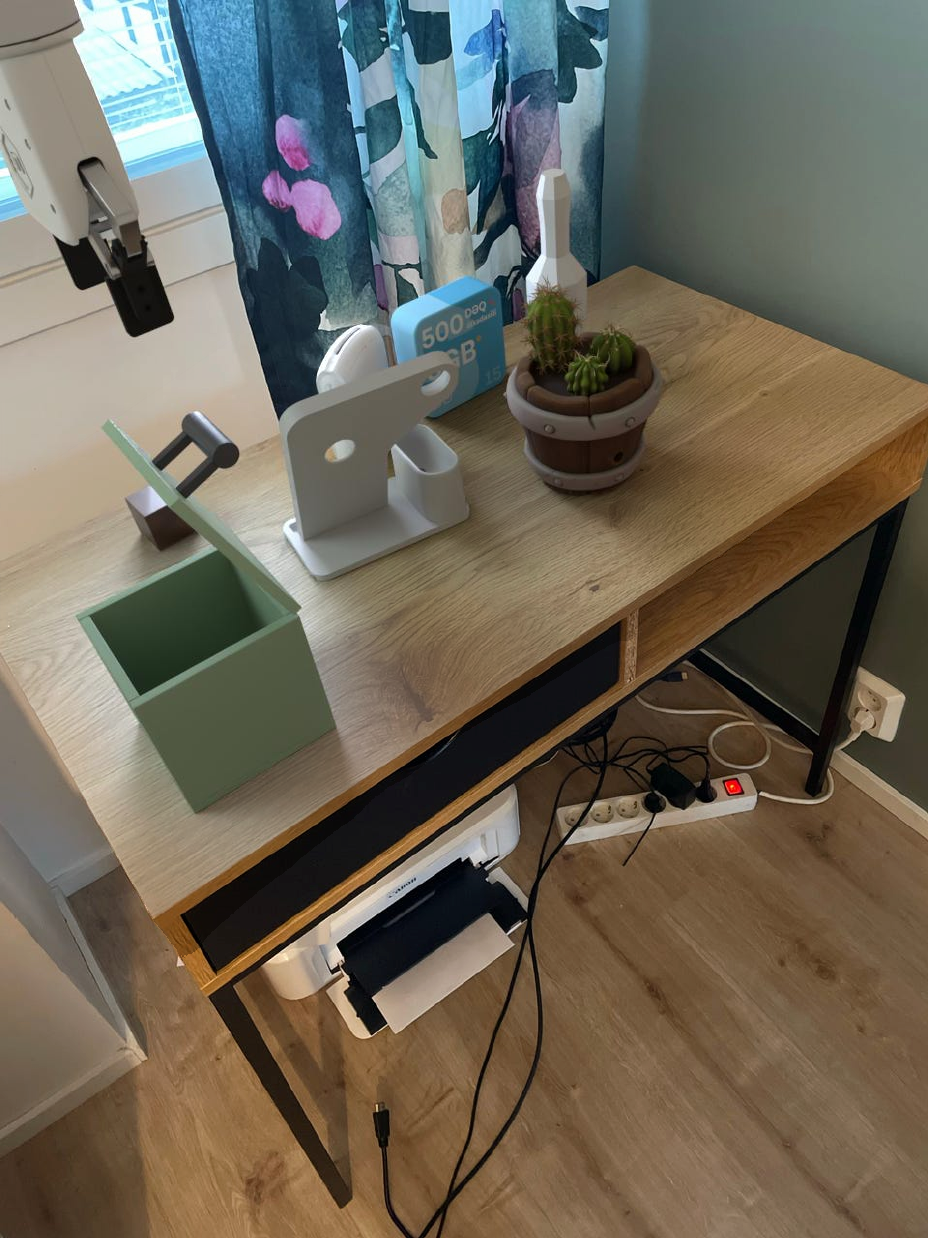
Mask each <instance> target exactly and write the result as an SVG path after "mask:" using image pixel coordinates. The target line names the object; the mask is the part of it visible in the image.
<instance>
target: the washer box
mask: <svg viewBox="0 0 928 1238" xmlns="http://www.w3.org/2000/svg"><path fill="white" fill-rule="evenodd" d="M75 618H76V620H77V621H78V623H79V625H80V626H81V628H82V630H83V631H84V633H85V634H86V637H87V638H88V640H89V641H90V643H91V645H92V646H93V648H94V650H95V651H96V653H97V655H98V657H99V658H100V660H101V661H102V663H103V665H104V667H105V669H106V670H107V672H108V673H109V675H110V677H111V679H112V680H113V682H114V683H115V685H116V687H117V689H118V690H119V692H120V694H121V695H122V697H123V698H124V700H125V702H126V704H127V705H128V708H129V709H130V710H131V712H132V714H133V715H134V717H135V719H136V721H137V722H138V724H139V726H140V727H141V729H142V730H143V732H144V734H145V736H146V737H147V738H148V740H149V742H150V743H151V745H152V747H153V748H154V750H155V752H156V753H157V755H158V756H159V758H160V760H161V761H162V763H163V765H164V766H165V768H166V769H167V771H168V773H169V775H170V776H171V778H172V779H173V781H174V783H175V785H176V786H177V787H178V789H179V791H180V792H181V794H182V796H183V797H184V799H185V800H186V802H187V804H188V805H189V808H190V809H191V811H192V812H193V814H194V815H195V814H197V813H199V812H201V811H203V810H204V809H206V808H207V807H209V806H210V805H212V804H214V803H215V802H217V801H218V800H220V799H222V798H223V797H225V796H227V795H228V794H230V793H232V792H234V791H235V790H236V789H238V788H240V787H241V786H243V785H244V784H246V783H248V782H249V781H251V780H253V779H254V778H256V777H257V776H259V775H261V774H262V773H264V772H265V771H268V770H269V769H270V768H271V767H272V768H273V766H275V765H277V764H278V763H280V762H282V761H283V760H285V759H286V758H288V757H290V756H292V755H293V754H295V753H296V752H298V751H300V750H301V749H303V748H305V747H306V746H308V745H309V744H311V743H312V742H314V741H315V740H317V739H319V738H321V736H323V735H325V734H327V733H329V732H330V731H332V730H333V729H335V728H336V727H337V724H336V720H335V718H334V715H333V712H332V709H331V705H330V702H329V700H328V697H327V694H326V691H325V688H324V685H323V681H322V680H321V676H320V673H319V670H318V666H317V665H316V662H315V658H314V655H313V652H312V649H311V647H310V643H309V641H308V636H307V634H306V632H305V628H304V625H303V623H302V619H301V616H300V615H299V613H298V612H297V613H296V614H295V615H293V614H292V613H291V612H289V611H288V610H287V609H286V608H285V607H284V606H282V605H281V604H280V603H279V602H278V601H277V600H275V599H274V598H273V597H272V596H271V595H270V594H269V593H267V592H266V591H265V590H264V589H263V588H262V587H260V586H259V585H258V584H257V583H256V582H255V581H253V580H252V579H251V578H250V577H249V576H248V575H247V574H245V573H244V572H243V571H242V570H241V569H240V568H238V567H237V566H236V565H235V564H234V563H233V562H231V561H230V560H229V559H228V558H227V557H226V556H225V555H223V554H222V553H221V552H220V551H219V550H218V549H216V548H215V547H214V546H213V545H212V546H209V547H207V548H205V549H204V550H201V551H199V552H197V553H196V554H193V555H192V556H190V557H188V558H186V559H183V560H182V561H180V562H178V563H176V564H173V565H171V566H170V567H168V568H166V569H164V570H162V571H160V572H158V573H155V574H154V575H152V576H150V577H148V578H146V579H144V580H142V581H140V582H138V583H136V584H134V585H132V586H130V587H128V588H127V589H124V590H122V591H120V592H119V593H117V594H115V595H112V596H110V597H108V598H106V599H105V600H102V601H100V602H99V603H96V604H95V605H92V606H90V607H88V608H87V609H84V610H82V611H81V612H79V613H76V614H75Z"/></svg>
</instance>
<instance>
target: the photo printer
mask: <svg viewBox="0 0 928 1238" xmlns="http://www.w3.org/2000/svg"><path fill="white" fill-rule="evenodd" d="M385 346H386V345H385V341H384V338H383V336H382V334H381V333H380V332H379V330H378V329H376V328H375V327H374V326H373V325H371V324H370V325H363V324H362V323H360V324H357V325H355V326H353V327H350V328H349V329H347V330H346V331H344V333H342V334H341V335H340V336H339V337H338V338H337V339H336V340H335V342H333V344H332V345H331V346H330V348H329V349H328V351H327V352H326V354H325V355H324V358H323V359H322V361H321V363H320V365H319V368H318V371H317V375H316V380H315V381H316V388H317V392H318V394H320V393H323V392H325V391H328V390H331V389H333V388H336V387H339V386H341V385H344V384H347V383H349V382H352V381H355V380H357V379H360V378H363V377H365V376H368V375H371V374H373V373H376V372H379V371H382V370H384V369H387V368H390V367H389V361H388V357H387V351H386V347H385ZM352 446H354V443H353V441H351V440H342V441H339V442H337V443H335V444H333V445H332V446H331V447H332V450H333V454H334V458H335V459H336V460H340V459H342V458H344V457H346V456H347V455H348V454H349V449H350V448H351V447H352Z"/></svg>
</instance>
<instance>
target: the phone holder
mask: <svg viewBox="0 0 928 1238" xmlns="http://www.w3.org/2000/svg"><path fill="white" fill-rule="evenodd" d="M438 371H443V373H442V374H441V375H440V376H439V377H438V378H437V379H436V380H435V381H434V382H432V383H430V384H428V385H426V386H422V385H423V383H424V381H425V380H426V379H427V378H428V377H429V376H430V375H432V374H433V373H435V372H438ZM458 376H459V371H458V368H457V367H456V366H455V364H454V363H453V361H452V360H451V358H450V357H449V356H448V354H447V353H445V352H443V351H434V352H430V353H428V354H425V355H422V356H419V357H417V358H414V359H411V360H409V361H406V362H403V363H400V364H398V363H397V364H395V365H393V366H390V367H389V368H387V369H384V370H382V371H379V372H376V373H373V374H371V375H368V376H365V377H363V378H360V379H357V380H355V381H352V382H349V383H347V384H344V385H341V386H339V387H336V388H333V389H331V390H328V391H325V392H323V393H320V394H319V393H317V394H314V395H313V396H309V397H307V398H304V399H302V400H299V401H297V402H295V403H293V404H291V405H290V406H289V407H287V408H286V410H285V411H284V412H283V413H282V414H281V416H280V418H279V422H278V429H279V434H280V440H281V446H282V451H283V456H284V463H285V468H286V473H287V479H288V485H289V490H290V497H291V501H292V508H293V512H294V517H292V518H290V519H288V520H287V521H286V522H284V524H283V526H282V529H283V533H284V537H285V539H287V541H288V543H289V544H290V545H291V547H292V549H293V550H294V552H295V553H296V554H297V556H298V558H299V559H300V560H301V562H302V564H303V565H304V566H305V568H306V570H307V571H308V572H309V574H310V575H311V577H314V578H316V581H320V582H325V581H330V580H333V579H335V578H337V577H339V576H342V575H344V574H346V573H349V572H352V571H353V570H356V569H358V568H361V567H362V566H365V565H367V564H369V563H371V562H374V561H376V560H378V559H380V558H383V557H385V556H387V555H390V554H392V553H394V552H397V551H398V550H401V549H403V548H406V547H409V546H410V545H412V544H415V543H417V542H419V541H422V540H424V539H426V538H429V537H431V536H433V535H435V534H437V533H441V532H443V531H444V530H446V529H449V528H451V527H453V526H456V525H458V524H460V523H463V522H465V521H466V520H468V518H469V517H470V506H469V504H468V503H467V501H466V497H465V489H464V480H463V473H462V466H461V459H460V456H459V455H458V454H457V453H456V451H454V449H452V447H450V446H449V445H448V444H447V443H446V441H444V440H443V439H442V438H441V437H440V436H439V435H438V434H437V433H436V432H435V431H434V430H433V429H432V428H431V427H429V426H428V425H426V424H422V423H421V422H422V421H423V420H424V419H425V418H426V417H428V415H429V414H430V413H431V412H432V411H433V410H434V409H435V408H436V407H438V406H439V405H440V404H441V403H442V402H443V401H444V400H445V399H446V398H448V397H449V396H450V395H451V394H452V393H453V392H454V390H455V389H456V387H457V384H458ZM342 440H351V441H353V443H354V446H352V447H351V448H350V449H349V454H348V455H347V456H346V457H344V458H342V459H340V460H339V459H336V460H329V458H326V454H327V451H328V450H329V449H330V448H331V447H332V445H333V444H335V443H337V442H339V441H342ZM389 453H391V458H392V459H391V460H392V464H393V468H394V474H395V475H393V476H392V477H389V475H388V474H389V471H388V469H389V468H388V463H389V462H388V458H389V457H388V455H389Z"/></svg>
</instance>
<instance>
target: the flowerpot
mask: <svg viewBox="0 0 928 1238" xmlns="http://www.w3.org/2000/svg"><path fill="white" fill-rule="evenodd" d="M542 276H543V275H542ZM543 278H544V276H543ZM544 280H545V282H546V284H547V287H546V286H545V285H543V286H542V285H540V284H538V283H535V284H537V285H539V286H541V288H542V289H543V290H539V286H538V288H537V289H538V290H536V289H535V290H536V291H538V294H537V293H531V294H533V295H534V294H535V295H536V294H537V297H536V296H535V295H534V296H535V298H534V297H532V298H534V300H531V301H532V302H531V303H530V300H529V304H528V303H527V300H524V303H523V302H522V301H519V303H520V304H521V305H523V306H522V307H521V309H523V308H526V309H524V310H523V311H522V313H524V312H526V313H525V314H524V318H525V319H524V318H523V317H522V316H521V315H519V317H520V321H519V320H516V322H517V326H518V325H521V326H519V327H520V328H521V327H522V328H521V331H523V330H524V329H525V330H527V332H528V334H527V333H523V332H521V334H522V336H523V337H524V338H523V337H522V339H523V340H521V341H519V342H520V343H524V344H523V348H526V346H527V345H529V347H531V346H532V347H531V348H530V350H529V351H528V352H527V355H523V356H521V357H520V359H519V360H518V362H517V365H516V366H515V367H514V369H513V370H512V371H511V373H510V375H509V377H508V380H507V383H506V391H505V392H504V393H503V397H504V398H505V399H507V405H508V407H509V411H510V412H511V414H512V416H514V418H515V419H516V420H517V421H518V422H519V423H520V424H521V426H522V430H523V432H524V434H525V441H524V451H523V456H524V457H525V458H526V460H527V462H528V465H529V467H530V468H531V470H532V471H533V473H534V474H535V475H536V476H537V477H539V479H540V480H541V481H542V482H543V483H544V485H545V486H546V487H549V488H550V489H553V490H554V491H557V492H558V493H561V494H563V493H565V492H569V494H571V495H573V496H582V495H586V494H587V493H588V492H589V493H591V494H593V495H594V494H596V495H597V494H602V493H603V494H604V493H606V492H609V491H611V490H613V489H616V488H617V487H619V486H621V485H622V484H623V483H625V482H626V481H627V480H628V478H629V477H630V476H631V475H632V474H633V473H634V472H635V471H636V469H637V468H638V466H639V465H640V462H641V460H642V457H643V455H644V451H645V448H646V446H647V444H646V438H645V434H644V430H645V428H646V425H647V423H648V419H649V418H650V417H651V416H652V415H653V413H655V411H656V409H657V408H658V406H659V404H660V400H661V398H662V394H663V388H664V385H665V383H666V379H665V378H664V377H663V376H662V373H661V370H660V368H659V366H658V365H657V364H656V363H655V361H653V359H652V358H651V357H652V356H651V354H650V352H649V350H648V349H647V348H646V346H645V345H642V344H637V343H636V341H635V339H634V338H633V336H632V334H633V332H632V331H631V330H630V329H627V328H626V331H627V333H628V334H629V336H628V335H627V334H625V333H622V332H625V328H623V327H621V326H622V325H619V326H618V327H617V329H615V325H617V322H612V323H609V322H607V321H605V323H606V325H607V327H606V326H604V327H602V328H601V329H603V330H604V332H603V330H601V329H598V331H584V333H581V334H580V335H579V337H578V335H577V334H578V332H577V334H575V329H576V325H577V324H578V323H579V324H580V323H581V319H582V318H583V317H584V316H583V317H582V318H581V319H580V318H579V319H578V314H577V316H576V317H577V319H576V317H575V315H574V310H575V309H576V308H577V306H578V305H580V304H579V303H578V304H577V305H576V304H575V303H576V302H579V301H576V300H574V301H575V302H574V301H573V302H574V304H573V302H572V301H571V302H570V300H569V299H568V300H567V299H566V298H565V297H563V296H565V295H568V294H565V293H567V292H566V291H565V290H566V289H565V290H564V291H563V293H562V289H561V290H559V286H560V284H558V285H555V286H554V287H552V286H551V287H552V288H551V287H550V288H551V289H550V288H549V289H548V283H549V281H548V276H547V281H546V279H545V278H544ZM542 284H543V283H542ZM544 286H545V287H544ZM549 286H550V283H549ZM557 286H558V290H557V291H556V289H555V288H556V287H557ZM546 288H547V290H546ZM560 288H561V287H560ZM553 289H555V291H556V292H554V290H553ZM567 289H568V288H567ZM552 290H553V291H552ZM543 291H544V292H543ZM559 292H560V293H559ZM568 292H569V291H568ZM529 297H531V296H529ZM566 297H567V296H566ZM574 299H576V298H574ZM571 300H572V299H571ZM581 304H583V303H581ZM579 307H580V306H579ZM578 309H579V308H578ZM580 310H581V309H580ZM581 311H582V310H581ZM575 312H576V311H575ZM581 315H582V314H581ZM580 317H581V316H580ZM587 319H588V318H587V317H586V319H585V321H586V320H587ZM579 320H580V321H579ZM583 321H584V320H582V322H583ZM578 326H579V325H578ZM580 326H582V324H580ZM609 328H610V331H609V330H608V329H609ZM577 329H578V328H577ZM581 329H582V327H581ZM620 330H621V331H620ZM581 331H582V330H581ZM599 331H600V332H599ZM524 334H525V335H524ZM576 335H577V336H576ZM634 341H635V342H634Z"/></svg>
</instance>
